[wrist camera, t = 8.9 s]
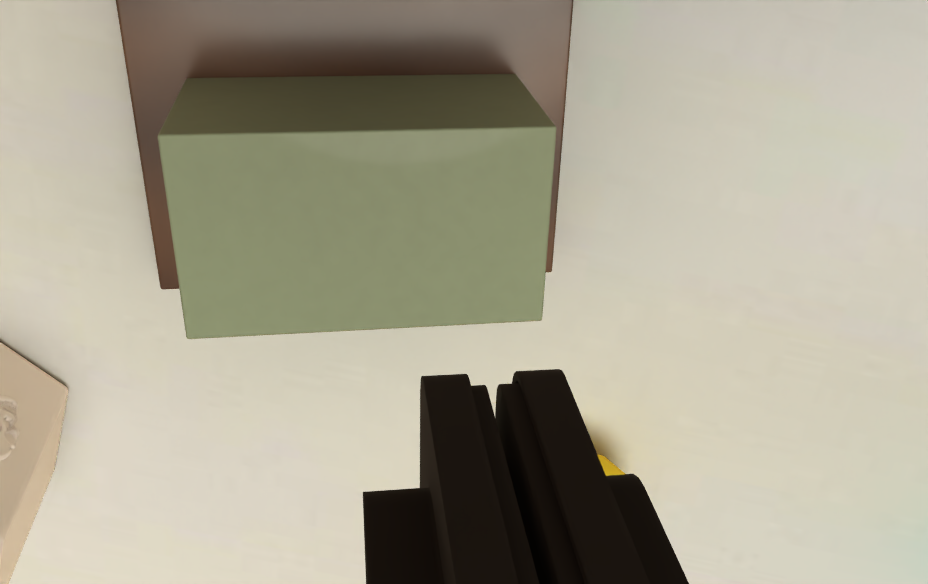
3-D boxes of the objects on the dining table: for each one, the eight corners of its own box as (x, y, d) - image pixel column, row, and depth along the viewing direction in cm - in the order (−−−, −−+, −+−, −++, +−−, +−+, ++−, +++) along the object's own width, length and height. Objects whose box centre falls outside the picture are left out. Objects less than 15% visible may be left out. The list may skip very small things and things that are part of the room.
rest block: (185, 77, 31) (156, 134, 26) (516, 73, 33) (557, 126, 27) (208, 254, 35) (186, 340, 29) (507, 243, 36) (542, 321, 31)
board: (63, -392, 26) (52, -401, 25) (592, -362, 28) (603, -369, 27) (164, 276, 36) (160, 290, 35) (546, 260, 38) (552, 272, 37)
